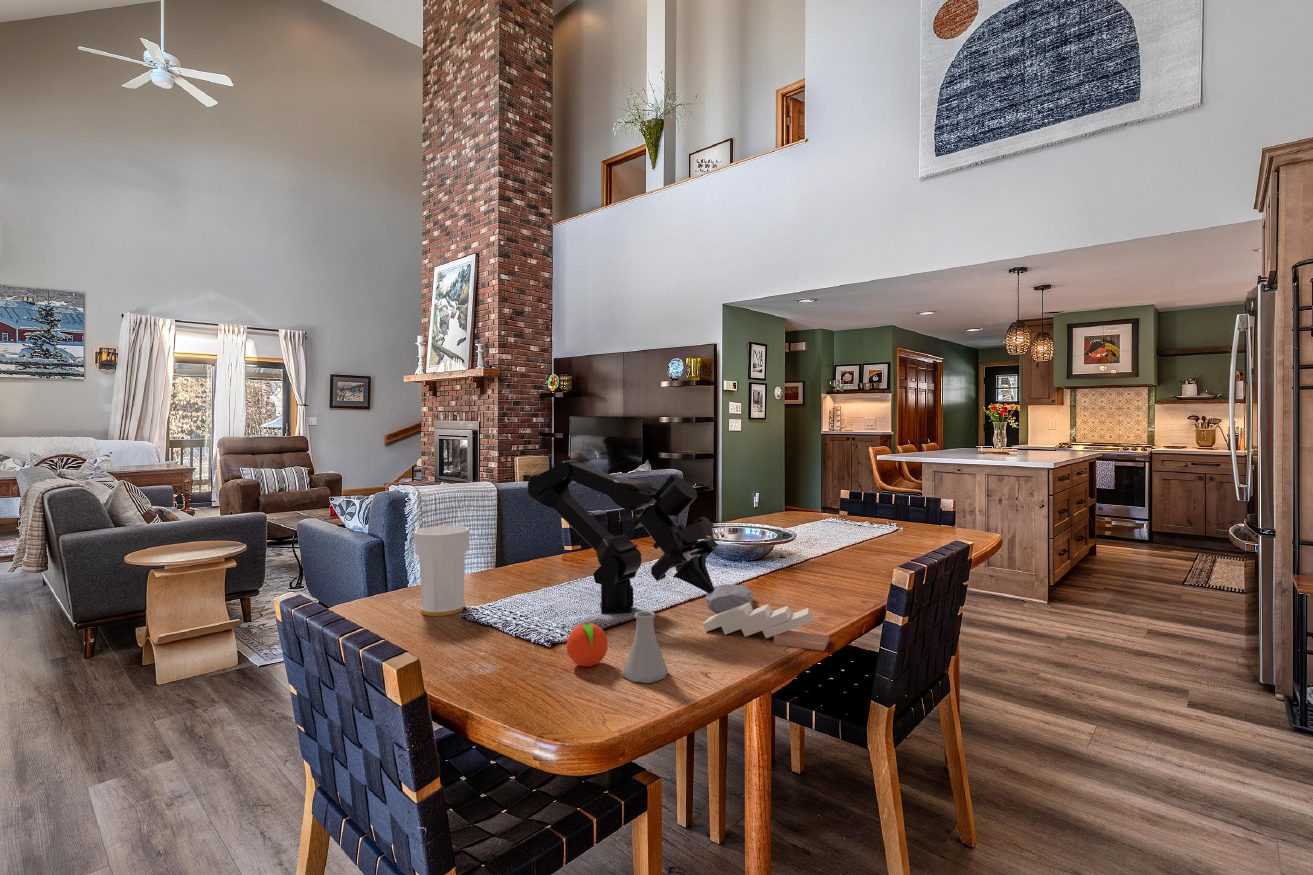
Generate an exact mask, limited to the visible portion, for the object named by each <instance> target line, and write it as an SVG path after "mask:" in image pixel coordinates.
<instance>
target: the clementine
mask: <svg viewBox="0 0 1313 875" xmlns="http://www.w3.org/2000/svg"><path fill="white" fill-rule="evenodd" d="M608 648H609V642H608V637H607V633H606V632H605V631H604V630H603V629H602V628H601V627H600V626H598V625H597V624H595V623H590V622H585V623H581V624H578V626H575V627H574V628H573V629H572V630H571V632H570V633H569V634H568V637H567V639H566V651H567V654H568V657H569V658H570V659H571V661H572V662H573V663H575V665H578V666H580V667H592V666H595V665H597V664H599V663H600V662H602V660H603V659H604V657H605V656H606V654H607V652H608Z"/></svg>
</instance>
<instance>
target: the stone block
mask: <svg viewBox="0 0 1313 875" xmlns="http://www.w3.org/2000/svg"><path fill="white" fill-rule="evenodd" d="M713 587H714V591H713V592H712V593H710V594H709V593H707V592H706V594H705V595H706V596H705V600H706V603H707V608H708V609H709V610H711V611H712V612H714V613H717V614H719V613H722V612H724V611H727V610H730V609H732V608H735V607H738V606H740V605H743V604H746V603H748V602H750V604H751V606H752V608H753V603H754V602H753V601H754V600H753V594H752V591H751V590H749V587H748V585H747V584H745V585H740V584H732V583H731V584H727V583H726V584H719V585H716V586H714V585H713Z"/></svg>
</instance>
